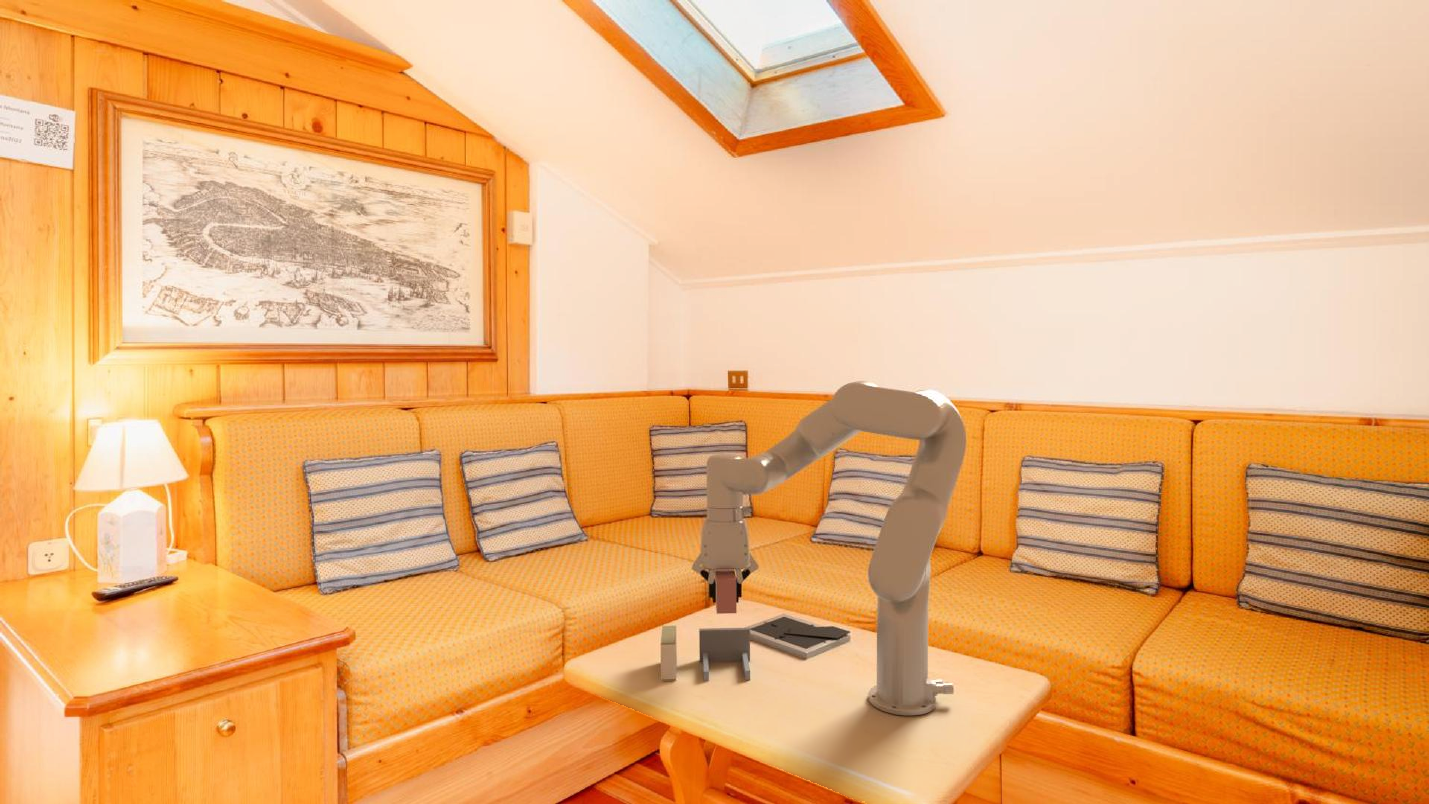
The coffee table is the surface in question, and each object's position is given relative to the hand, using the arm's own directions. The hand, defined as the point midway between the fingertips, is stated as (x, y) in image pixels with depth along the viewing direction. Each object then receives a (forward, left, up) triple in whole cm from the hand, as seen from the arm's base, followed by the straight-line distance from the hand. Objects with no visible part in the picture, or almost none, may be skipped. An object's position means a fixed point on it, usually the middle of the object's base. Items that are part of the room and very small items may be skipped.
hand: (725, 599), depth 163 cm
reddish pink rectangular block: (0, 0, -1) cm, 1 cm away
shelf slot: (0, -2, -16) cm, 16 cm away
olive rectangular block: (+12, -1, -16) cm, 20 cm away
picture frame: (-17, -19, -16) cm, 31 cm away
